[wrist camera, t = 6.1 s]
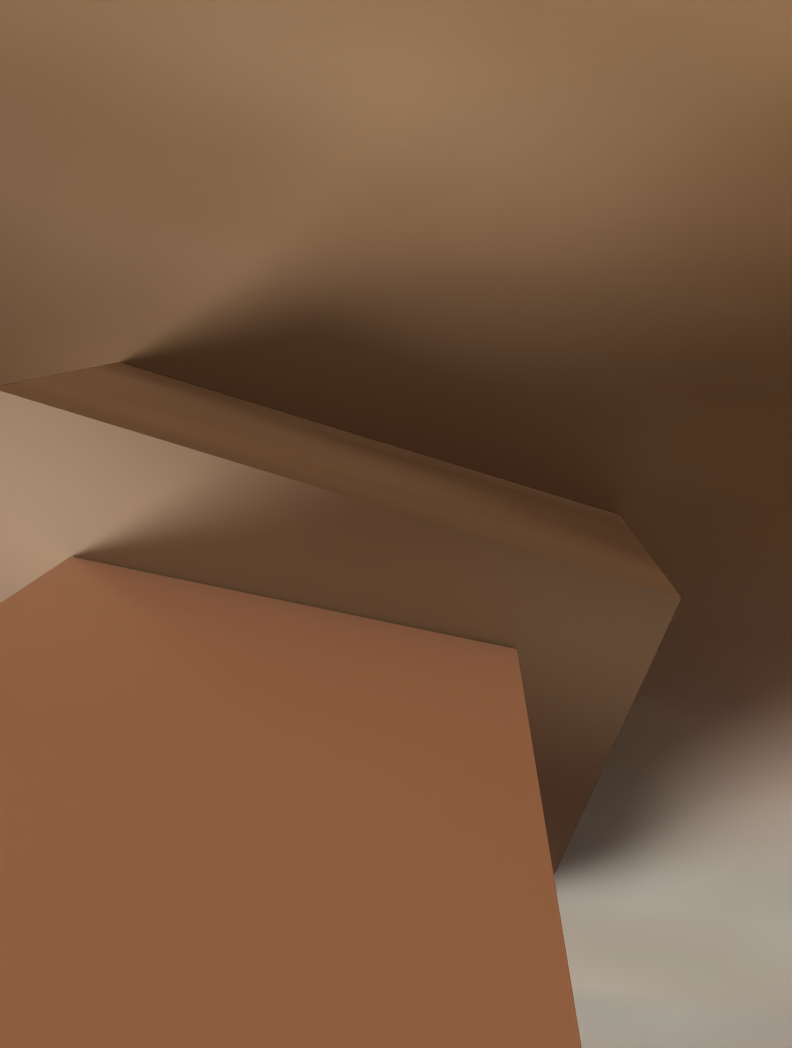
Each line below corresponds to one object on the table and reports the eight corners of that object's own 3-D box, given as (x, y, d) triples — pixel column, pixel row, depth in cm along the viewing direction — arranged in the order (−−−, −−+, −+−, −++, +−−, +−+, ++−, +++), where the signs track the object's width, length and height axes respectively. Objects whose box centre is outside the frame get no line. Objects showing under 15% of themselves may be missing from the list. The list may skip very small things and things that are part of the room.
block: (460, 887, 16) (461, 1077, 12) (61, 768, 16) (-67, 921, 12) (614, 508, 13) (681, 597, 9) (129, 360, 13) (-11, 387, 9)
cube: (426, 986, 11) (392, 1698, 6) (54, 905, 11) (-353, 1516, 6) (517, 649, 9) (605, 1196, 4) (70, 556, 10) (-511, 944, 4)
